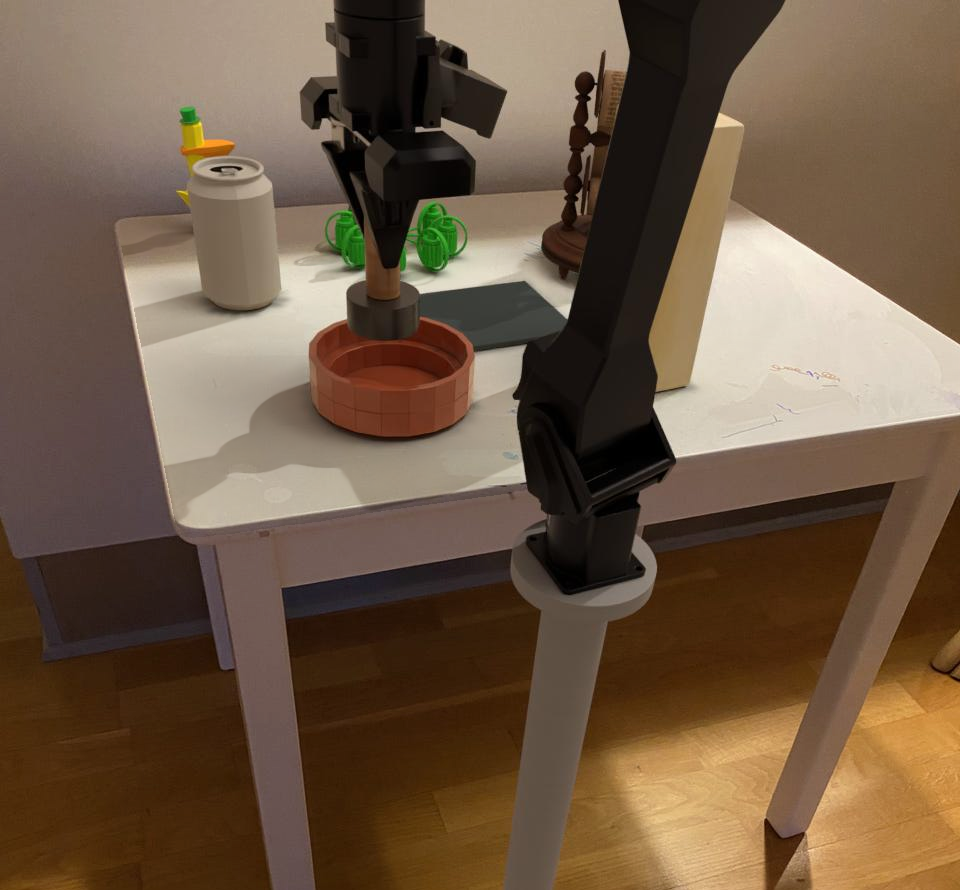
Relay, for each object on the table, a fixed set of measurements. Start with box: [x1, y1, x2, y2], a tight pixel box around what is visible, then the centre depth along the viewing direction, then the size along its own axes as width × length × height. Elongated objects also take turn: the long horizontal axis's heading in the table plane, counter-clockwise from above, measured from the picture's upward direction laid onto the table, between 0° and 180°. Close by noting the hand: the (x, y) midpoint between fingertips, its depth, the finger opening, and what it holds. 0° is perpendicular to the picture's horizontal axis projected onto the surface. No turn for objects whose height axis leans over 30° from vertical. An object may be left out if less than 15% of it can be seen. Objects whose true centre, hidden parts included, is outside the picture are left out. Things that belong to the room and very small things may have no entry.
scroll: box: [540, 49, 627, 280], centre depth 95 cm, size 15×15×20 cm
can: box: [186, 155, 283, 311], centre depth 87 cm, size 8×8×12 cm
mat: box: [420, 280, 568, 352], centre depth 90 cm, size 12×16×1 cm
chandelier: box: [324, 201, 468, 273], centre depth 98 cm, size 15×15×7 cm
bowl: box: [308, 317, 476, 437], centre depth 77 cm, size 13×13×4 cm
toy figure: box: [175, 106, 236, 209], centre depth 99 cm, size 7×4×12 cm, turn 116°
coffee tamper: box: [345, 216, 421, 341], centre depth 70 cm, size 6×6×10 cm
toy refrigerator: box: [615, 104, 745, 393], centre depth 77 cm, size 8×7×21 cm
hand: (383, 260), depth 69 cm, fingers closed on coffee tamper, 2 cm apart
